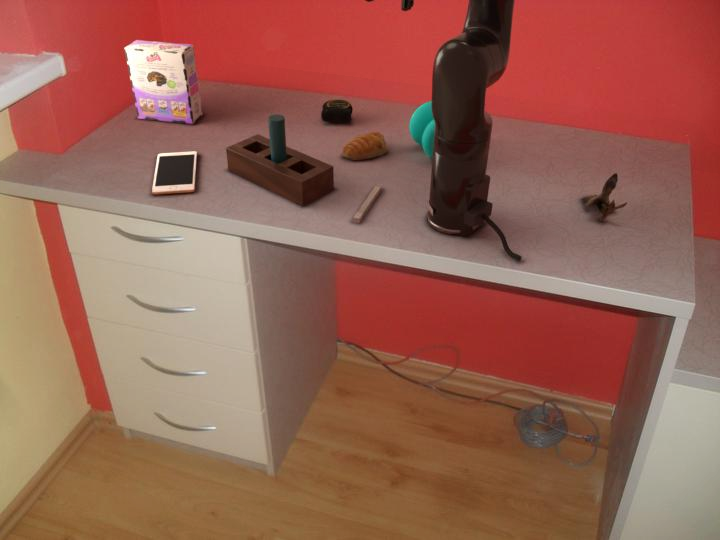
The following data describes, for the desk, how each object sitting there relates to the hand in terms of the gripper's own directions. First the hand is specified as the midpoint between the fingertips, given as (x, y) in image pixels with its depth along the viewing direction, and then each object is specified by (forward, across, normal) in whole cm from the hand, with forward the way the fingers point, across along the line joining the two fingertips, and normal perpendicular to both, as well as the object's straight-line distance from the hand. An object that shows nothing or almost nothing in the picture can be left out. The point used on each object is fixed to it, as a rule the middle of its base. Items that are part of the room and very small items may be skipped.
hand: (388, 5), depth 129 cm
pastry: (+30, -3, -2) cm, 31 cm away
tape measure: (+30, -18, +6) cm, 36 cm away
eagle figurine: (+30, +44, +9) cm, 54 cm away
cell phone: (+30, -25, -34) cm, 52 cm away
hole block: (+30, -8, -22) cm, 38 cm away
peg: (+30, -8, -22) cm, 38 cm away
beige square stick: (+30, +11, -18) cm, 37 cm away
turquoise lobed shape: (+30, +8, +8) cm, 32 cm away
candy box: (+30, -48, -18) cm, 60 cm away
